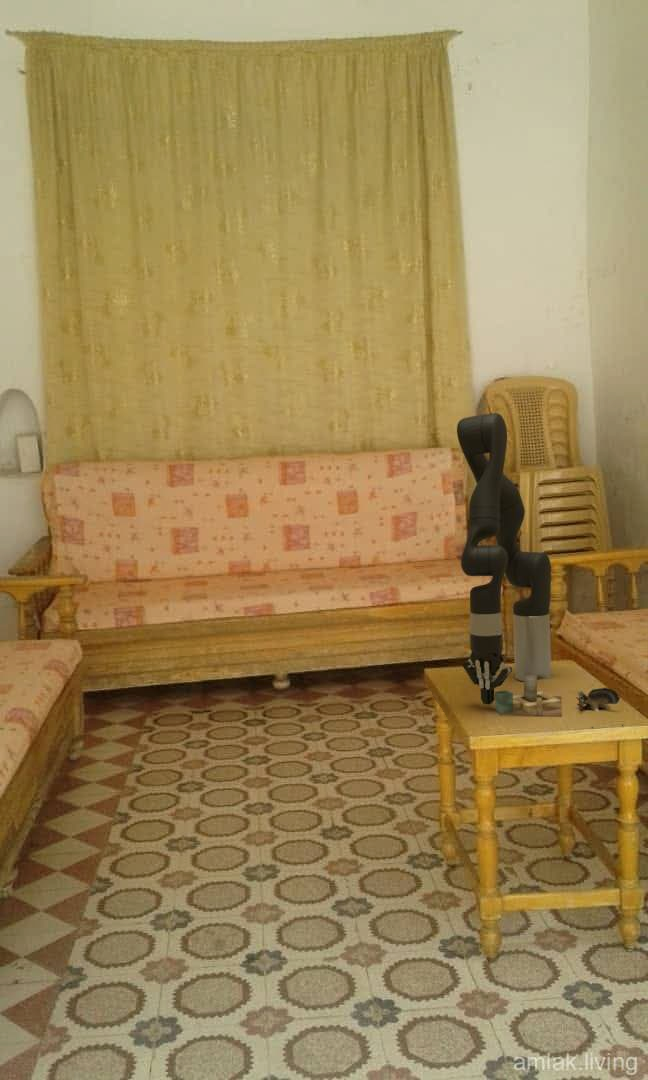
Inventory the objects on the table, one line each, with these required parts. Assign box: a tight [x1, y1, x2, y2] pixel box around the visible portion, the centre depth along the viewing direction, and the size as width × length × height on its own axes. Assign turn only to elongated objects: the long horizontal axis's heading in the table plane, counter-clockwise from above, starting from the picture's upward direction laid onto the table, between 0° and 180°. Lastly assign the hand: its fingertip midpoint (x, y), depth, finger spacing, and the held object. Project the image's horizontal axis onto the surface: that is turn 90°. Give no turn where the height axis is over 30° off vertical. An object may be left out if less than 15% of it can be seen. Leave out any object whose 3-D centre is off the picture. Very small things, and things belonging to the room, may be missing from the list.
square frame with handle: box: [494, 689, 563, 714], centre depth 245 cm, size 14×9×4 cm, turn 110°
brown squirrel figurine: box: [575, 687, 621, 712], centre depth 241 cm, size 8×7×9 cm
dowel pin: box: [537, 698, 542, 716], centre depth 238 cm, size 1×1×4 cm
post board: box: [498, 675, 563, 718], centre depth 246 cm, size 17×14×8 cm
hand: (487, 703), depth 246 cm, fingers closed
